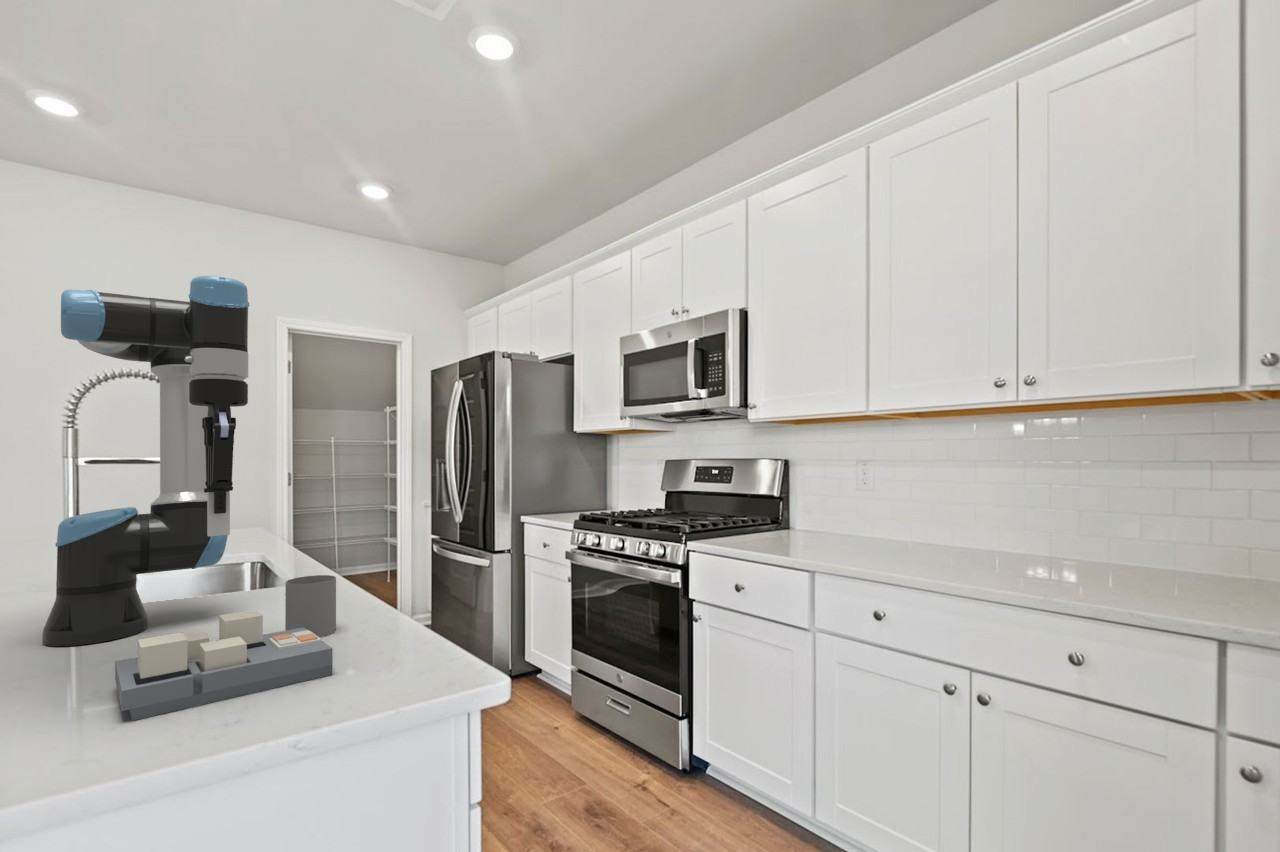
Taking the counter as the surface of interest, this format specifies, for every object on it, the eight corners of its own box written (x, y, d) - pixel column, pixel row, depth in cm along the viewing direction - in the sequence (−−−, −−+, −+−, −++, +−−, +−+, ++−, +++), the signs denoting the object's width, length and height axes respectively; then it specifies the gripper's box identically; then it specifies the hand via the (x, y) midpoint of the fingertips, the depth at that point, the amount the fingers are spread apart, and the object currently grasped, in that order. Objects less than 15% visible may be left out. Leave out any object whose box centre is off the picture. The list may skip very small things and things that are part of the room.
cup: (314, 641, 116) (314, 584, 117) (275, 639, 118) (275, 583, 118) (345, 628, 125) (345, 575, 125) (307, 626, 126) (307, 574, 126)
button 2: (163, 664, 96) (163, 637, 96) (203, 657, 100) (203, 631, 100) (167, 673, 92) (167, 645, 93) (208, 665, 96) (209, 637, 96)
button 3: (199, 671, 93) (199, 643, 93) (239, 663, 96) (239, 636, 96) (204, 680, 89) (204, 651, 89) (246, 672, 92) (246, 643, 93)
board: (114, 689, 94) (115, 656, 94) (303, 651, 110) (303, 623, 110) (121, 723, 82) (122, 685, 82) (332, 674, 98) (332, 643, 98)
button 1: (137, 669, 88) (137, 639, 88) (182, 660, 92) (182, 632, 92) (140, 678, 85) (141, 647, 85) (187, 669, 88) (187, 639, 88)
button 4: (219, 641, 101) (219, 615, 101) (255, 634, 104) (255, 609, 104) (224, 648, 97) (225, 621, 97) (262, 641, 100) (262, 615, 101)
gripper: (185, 382, 102) (184, 533, 101) (193, 373, 92) (192, 541, 91) (240, 384, 106) (240, 529, 105) (255, 376, 96) (254, 536, 95)
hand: (218, 535), depth 98 cm, fingers closed
